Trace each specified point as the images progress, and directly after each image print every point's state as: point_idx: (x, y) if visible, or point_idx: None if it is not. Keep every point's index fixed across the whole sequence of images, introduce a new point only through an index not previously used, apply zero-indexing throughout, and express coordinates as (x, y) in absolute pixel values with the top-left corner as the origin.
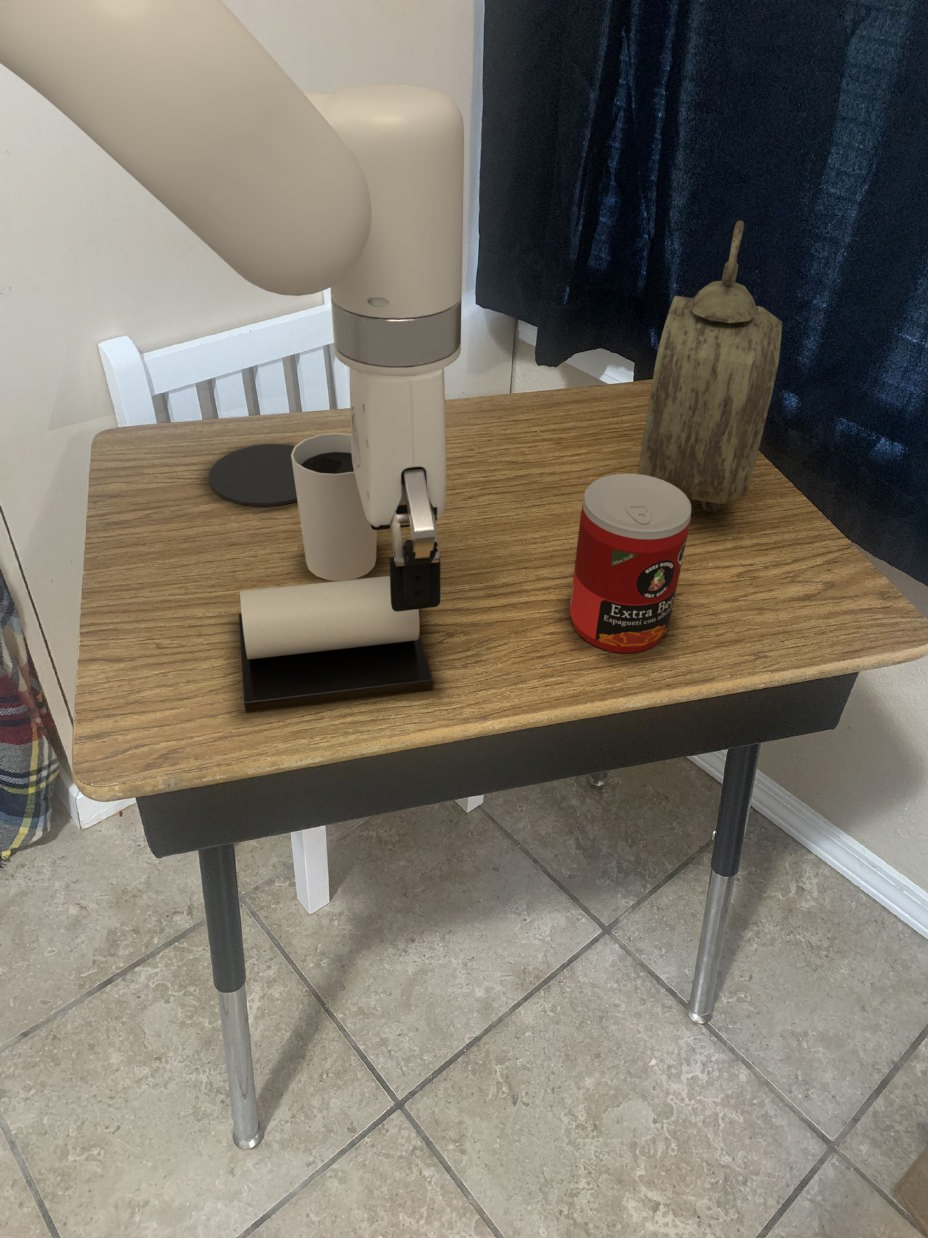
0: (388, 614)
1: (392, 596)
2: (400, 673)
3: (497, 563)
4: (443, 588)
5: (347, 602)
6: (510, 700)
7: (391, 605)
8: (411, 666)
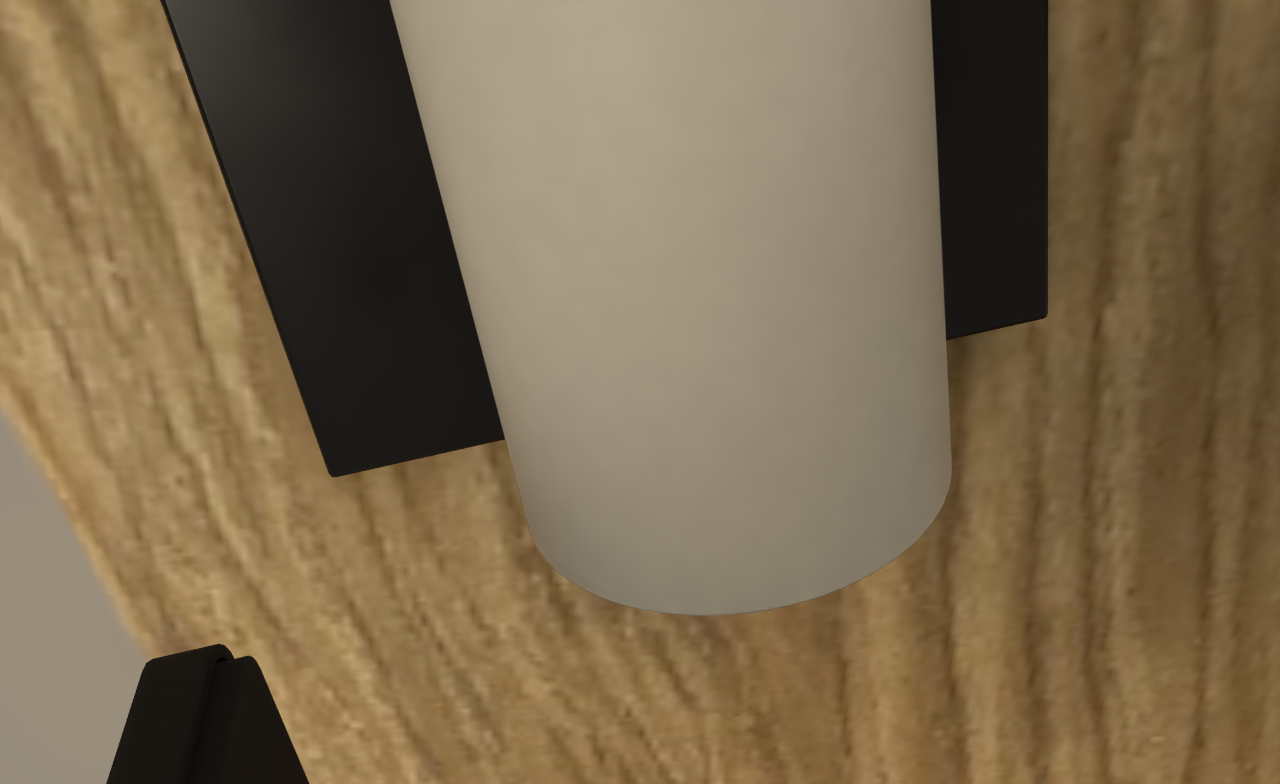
0: (525, 407)
1: (115, 767)
2: (367, 321)
3: (1260, 645)
4: (1129, 440)
5: (557, 145)
6: (307, 734)
7: (194, 652)
8: (431, 372)
